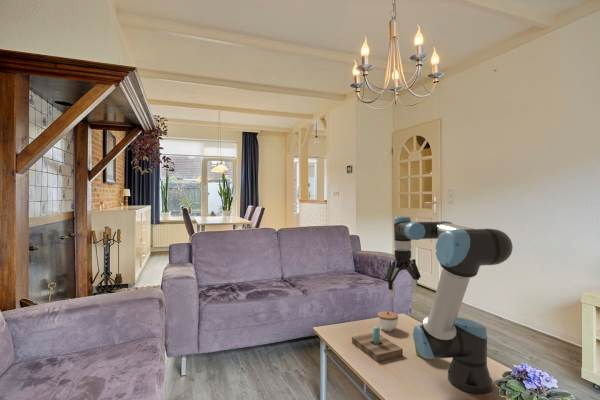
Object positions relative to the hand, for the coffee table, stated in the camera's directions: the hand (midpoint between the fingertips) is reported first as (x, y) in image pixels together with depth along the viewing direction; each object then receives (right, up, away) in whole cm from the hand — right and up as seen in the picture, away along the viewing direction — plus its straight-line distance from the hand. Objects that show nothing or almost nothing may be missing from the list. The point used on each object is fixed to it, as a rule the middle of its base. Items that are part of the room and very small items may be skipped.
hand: (403, 295), depth 153 cm
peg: (-13, -25, -1) cm, 28 cm away
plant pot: (+7, -25, -6) cm, 27 cm away
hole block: (-13, -25, -1) cm, 28 cm away
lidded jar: (-1, -25, +23) cm, 34 cm away
